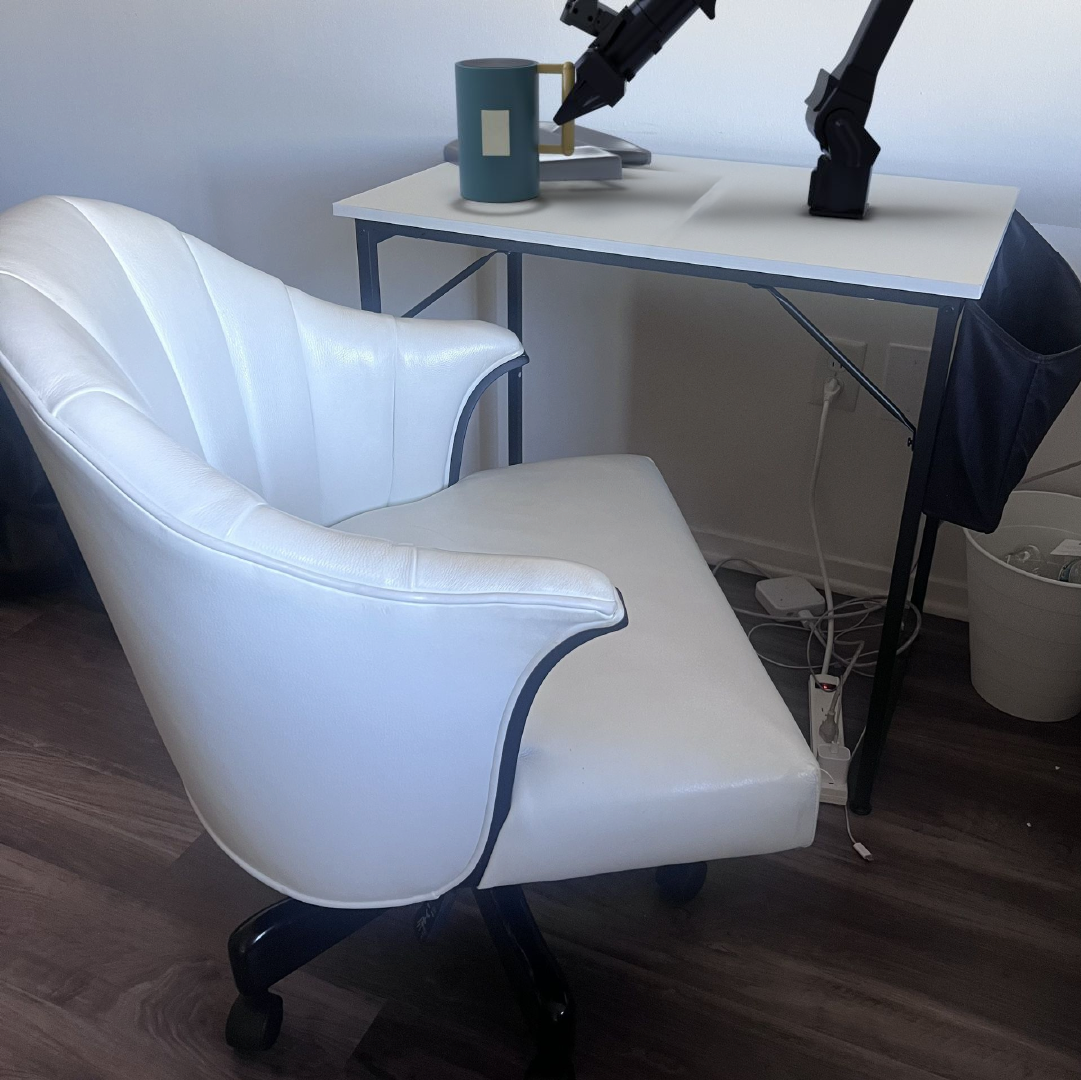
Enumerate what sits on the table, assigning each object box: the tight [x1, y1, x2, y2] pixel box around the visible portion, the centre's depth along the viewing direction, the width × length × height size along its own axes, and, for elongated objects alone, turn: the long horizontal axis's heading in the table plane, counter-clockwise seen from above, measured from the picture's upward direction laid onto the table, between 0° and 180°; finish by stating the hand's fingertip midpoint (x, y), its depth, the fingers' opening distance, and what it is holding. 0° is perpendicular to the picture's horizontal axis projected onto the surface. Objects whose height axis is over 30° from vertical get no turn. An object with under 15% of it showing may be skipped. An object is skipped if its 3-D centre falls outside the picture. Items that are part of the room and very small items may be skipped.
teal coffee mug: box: [454, 57, 576, 204], centre depth 125 cm, size 14×10×15 cm
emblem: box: [442, 120, 653, 182], centre depth 146 cm, size 28×5×28 cm
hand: (556, 121), depth 124 cm, fingers closed
